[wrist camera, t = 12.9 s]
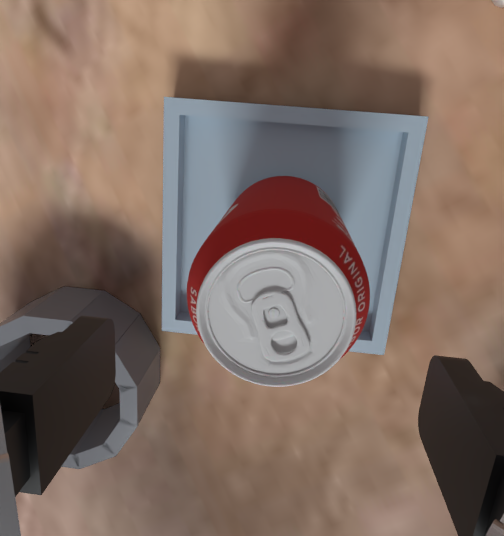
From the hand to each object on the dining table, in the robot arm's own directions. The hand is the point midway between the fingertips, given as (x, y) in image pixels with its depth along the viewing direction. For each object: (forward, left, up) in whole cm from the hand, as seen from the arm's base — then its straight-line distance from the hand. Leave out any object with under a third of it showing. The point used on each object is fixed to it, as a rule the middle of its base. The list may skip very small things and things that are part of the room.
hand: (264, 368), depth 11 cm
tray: (0, 0, -16) cm, 16 cm away
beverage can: (0, 0, -15) cm, 15 cm away
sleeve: (+12, +10, -16) cm, 22 cm away
